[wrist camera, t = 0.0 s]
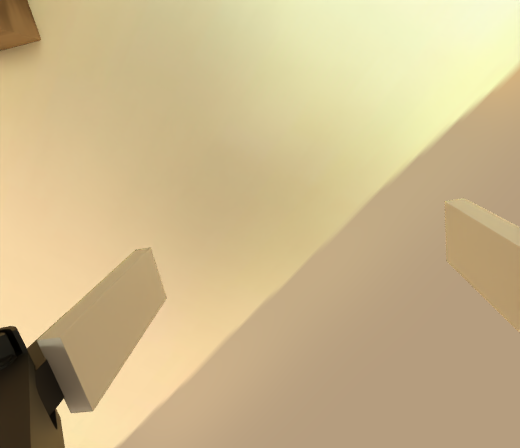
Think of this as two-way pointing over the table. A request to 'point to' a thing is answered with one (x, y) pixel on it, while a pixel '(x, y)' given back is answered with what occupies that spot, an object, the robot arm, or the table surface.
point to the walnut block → (16, 24)
